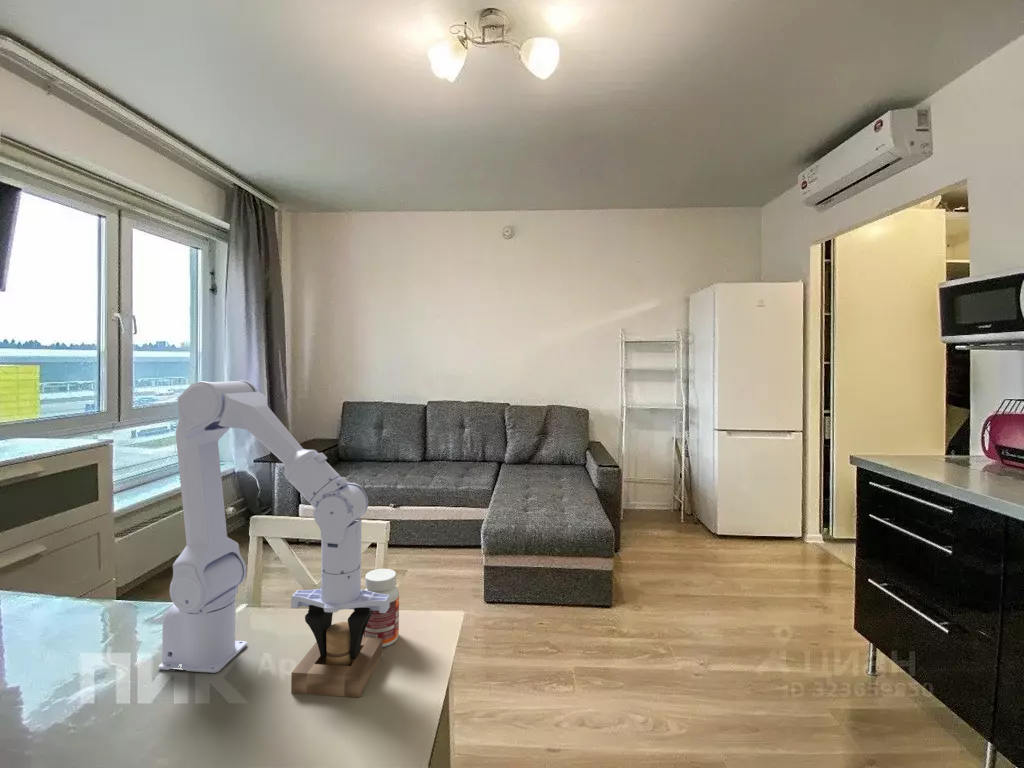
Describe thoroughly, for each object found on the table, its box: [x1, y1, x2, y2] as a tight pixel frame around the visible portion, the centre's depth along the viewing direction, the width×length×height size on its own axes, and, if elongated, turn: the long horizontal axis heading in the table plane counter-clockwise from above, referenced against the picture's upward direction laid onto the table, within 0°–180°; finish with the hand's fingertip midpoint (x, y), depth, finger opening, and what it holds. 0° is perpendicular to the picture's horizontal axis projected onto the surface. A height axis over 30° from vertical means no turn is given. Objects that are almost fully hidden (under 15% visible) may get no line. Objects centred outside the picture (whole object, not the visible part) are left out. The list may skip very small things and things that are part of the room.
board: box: [290, 637, 383, 699], centre depth 76 cm, size 10×10×3 cm
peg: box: [326, 621, 354, 666], centre depth 76 cm, size 4×4×7 cm
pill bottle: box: [363, 568, 400, 648], centre depth 85 cm, size 6×6×11 cm
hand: (340, 654), depth 76 cm, fingers closed on peg, 4 cm apart
